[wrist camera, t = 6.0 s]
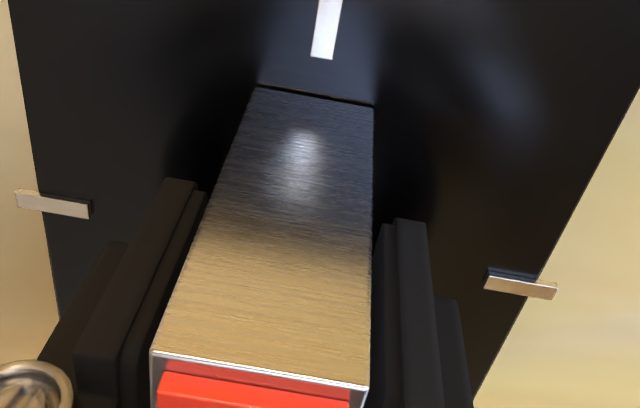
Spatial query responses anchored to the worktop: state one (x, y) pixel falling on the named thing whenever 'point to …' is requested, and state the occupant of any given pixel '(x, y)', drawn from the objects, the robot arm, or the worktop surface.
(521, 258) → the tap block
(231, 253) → the brushed steel box
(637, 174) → the worktop surface
